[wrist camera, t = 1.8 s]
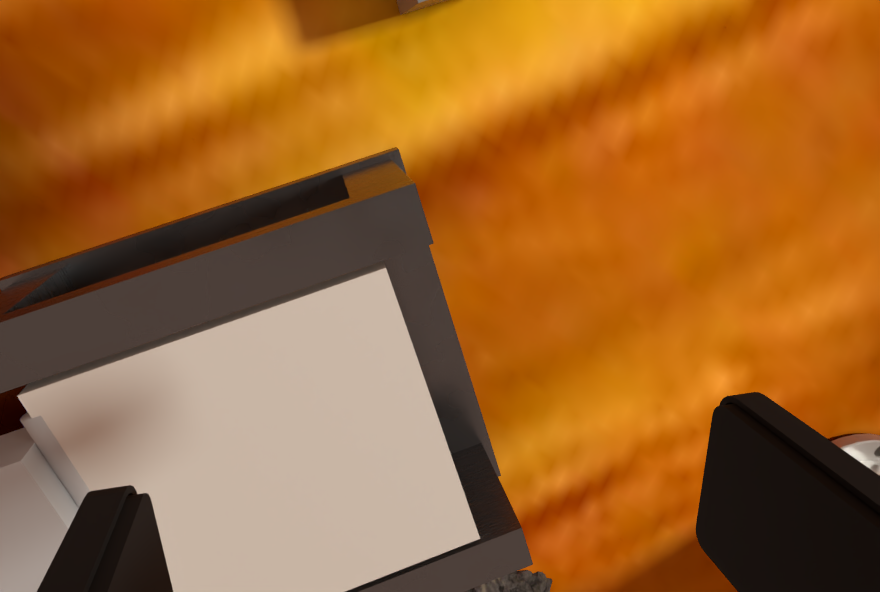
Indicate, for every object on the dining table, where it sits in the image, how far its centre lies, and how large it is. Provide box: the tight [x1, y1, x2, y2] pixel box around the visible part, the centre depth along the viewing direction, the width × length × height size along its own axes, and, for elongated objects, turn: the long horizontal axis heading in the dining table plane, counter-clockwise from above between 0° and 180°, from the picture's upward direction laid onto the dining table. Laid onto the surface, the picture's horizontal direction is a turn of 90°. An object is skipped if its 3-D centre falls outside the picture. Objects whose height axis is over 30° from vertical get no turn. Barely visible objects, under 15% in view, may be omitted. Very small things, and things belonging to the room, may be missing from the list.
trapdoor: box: [0, 261, 480, 592], centre depth 25 cm, size 18×14×3 cm
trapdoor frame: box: [0, 147, 533, 592], centre depth 29 cm, size 19×20×8 cm
